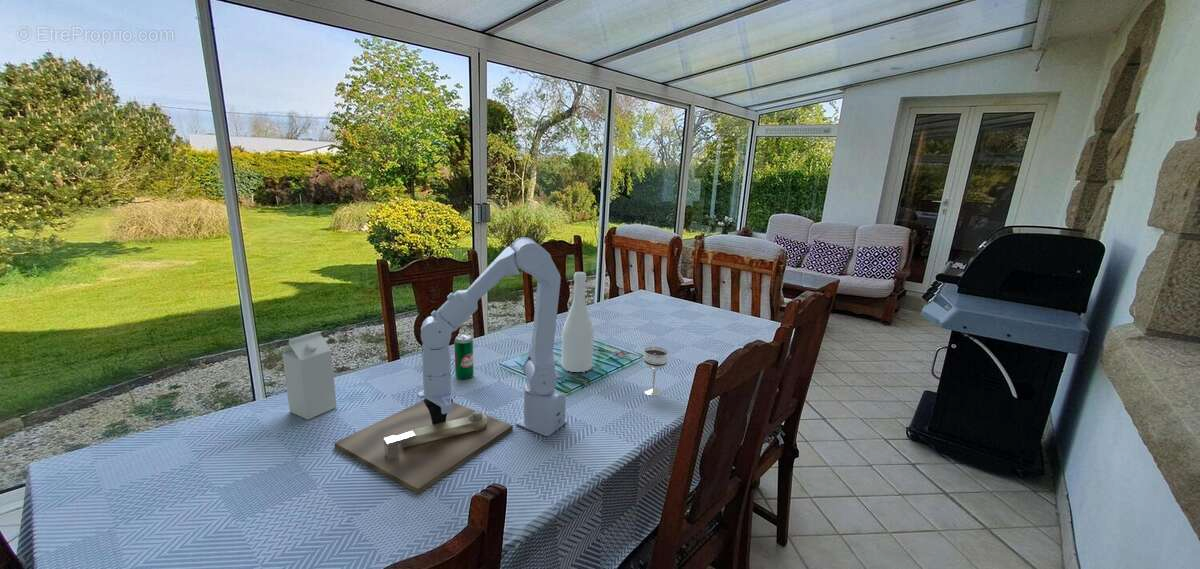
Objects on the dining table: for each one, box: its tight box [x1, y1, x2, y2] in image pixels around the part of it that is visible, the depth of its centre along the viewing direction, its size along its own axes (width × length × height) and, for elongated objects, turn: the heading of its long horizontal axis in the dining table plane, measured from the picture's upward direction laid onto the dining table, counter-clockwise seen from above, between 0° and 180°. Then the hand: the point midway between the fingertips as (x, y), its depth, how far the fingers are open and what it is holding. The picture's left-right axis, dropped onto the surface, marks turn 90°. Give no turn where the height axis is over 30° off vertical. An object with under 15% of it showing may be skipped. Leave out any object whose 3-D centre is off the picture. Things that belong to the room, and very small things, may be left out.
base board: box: [334, 400, 514, 495], centre depth 100 cm, size 26×26×1 cm
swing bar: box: [400, 410, 487, 448], centre depth 100 cm, size 18×4×3 cm, turn 121°
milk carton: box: [282, 331, 338, 421], centre depth 107 cm, size 7×7×19 cm
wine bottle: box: [561, 271, 595, 373], centre depth 137 cm, size 10×10×30 cm
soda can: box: [453, 334, 475, 380], centre depth 130 cm, size 5×5×12 cm
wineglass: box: [642, 346, 669, 396], centre depth 126 cm, size 7×7×12 cm
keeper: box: [384, 431, 416, 461], centre depth 92 cm, size 6×2×4 cm, turn 130°
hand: (439, 428), depth 101 cm, fingers closed, pressing on swing bar
